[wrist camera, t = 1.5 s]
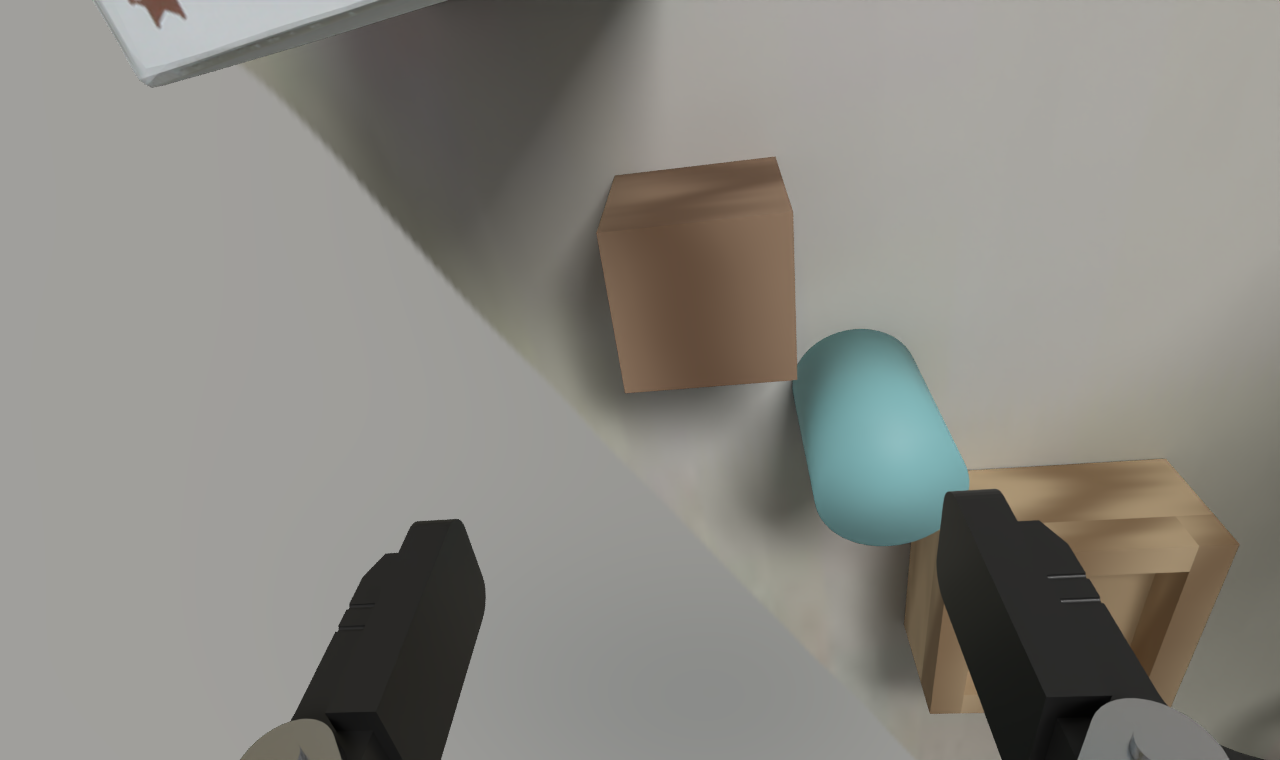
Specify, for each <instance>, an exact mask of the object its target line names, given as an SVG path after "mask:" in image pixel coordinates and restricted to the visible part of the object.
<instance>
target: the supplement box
mask: <svg viewBox="0 0 1280 760" xmlns="http://www.w3.org/2000/svg"><path fill="white" fill-rule="evenodd" d="M92 1H93V2H94V4H95V6H96V7H97V9H98V10H99V12H100V14H101V16H102V17H103V19H104V20H105V22H106V24H107V25H108V27H109V29H110V30H111V32H112V34H113V36H114V37H115V39H116V41H117V42H118V44H119V46H120V47H121V49H122V52H123V53H124V55H125V57H126V59H127V61H128V63H129V65H130V67H131V68H132V70H133V71H134V73H135V74H136V76H137V78H138V79H139V80H140V81H141V82H143V83H145V84H146V85H148V86H150V87H152V88H153V87H158V86H163V85H167V84H170V83H174V82H177V81H180V80H184V79H187V78H191V77H195V76H199V75H202V74H206V73H209V72H213V71H216V70H220V69H223V68H226V67H230V66H233V65H237V64H240V63H243V62H247V61H250V60H253V59H257V58H260V57H264V56H267V55H270V54H274V53H277V52H280V51H284V50H287V49H291V48H294V47H297V46H301V45H304V44H308V43H311V42H314V41H318V40H321V39H324V38H328V37H331V36H334V35H337V34H340V33H344V32H347V31H350V30H353V29H357V28H360V27H363V26H366V25H369V24H373V23H376V22H379V21H382V20H386V19H389V18H392V17H395V16H398V15H402V14H405V13H408V12H411V11H415V10H418V9H421V8H424V7H427V6H431V5H434V4H437V3H441V2H444V1H447V0H92Z"/></svg>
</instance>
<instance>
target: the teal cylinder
mask: <svg viewBox="0 0 1280 760" xmlns="http://www.w3.org/2000/svg"><path fill="white" fill-rule="evenodd" d="M792 388H793V396H794V401H795V406H796V411H797V416H798V421H799V426H800V431H801V436H802V441H803V446H804V451H805V456H806V461H807V466H808V471H809V476H810V481H811V486H812V491H813V496H814V501H815V505H816V509H817V512H818V514H819V516H820V518H821V519H822V520H823V522H824V523H825V524H826V525H827V526H828V527H829V528H830V529H831V530H832V531H833V532H835V533H836V534H838V535H839V536H841V537H843V538H845V539H848V540H850V541H853V542H856V543H859V544H865V545H871V546H894V545H901V544H906V543H910V542H914V541H917V540H919V539H922V538H925V537H927V536H929V535H931V534H933V533H935V532H936V531H938V530H939V529H940V525H941V517H942V509H943V501H944V496H945V494H946V493H947V492H949V491H964V490H969V474H968V471H967V468H966V465H965V463H964V461H963V459H962V457H961V455H960V453H959V451H958V449H957V447H956V445H955V443H954V441H953V439H952V437H951V434H950V432H949V430H948V428H947V426H946V424H945V422H944V420H943V418H942V416H941V414H940V412H939V410H938V408H937V406H936V404H935V402H934V400H933V398H932V396H931V394H930V392H929V389H928V387H927V385H926V383H925V381H924V379H923V377H922V375H921V373H920V371H919V369H918V367H917V365H916V363H915V361H914V359H913V357H912V355H911V353H910V352H909V350H908V349H907V348H906V346H904V345H903V344H902V343H901V342H900V341H899V340H897V339H896V338H894V337H892V336H890V335H888V334H886V333H883V332H880V331H875V330H869V329H853V330H846V331H842V332H839V333H836V334H833V335H830V336H828V337H826V338H824V339H822V340H821V341H819V342H818V343H816V344H815V345H814V346H813V347H811V348H810V349H809V350H808V351H807V352H806V353H805V354H804V356H803V357H802V358H801V360H800V361H799V363H798V365H797V380H793V383H792Z"/></svg>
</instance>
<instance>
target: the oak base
mask: <svg viewBox="0 0 1280 760" xmlns="http://www.w3.org/2000/svg"><path fill="white" fill-rule="evenodd" d="M968 474H969V490H981V489H998V490H1000V491H1001V493H1002V494H1003V495H1004V497H1005V499H1006V501H1007V502H1008V504H1009V506H1010V508H1011V510H1012V512H1013V513H1014V515H1015V517H1016V519H1017V521H1032V520H1040V521H1041V522H1042V523H1043V524H1044V525H1046V526H1047V527H1048V528H1049V529H1051V530H1052V531H1053V532H1054V533H1055V534H1057V535H1058V536H1059V537H1060V538H1062V539H1063V540H1064V541H1065V542H1066V543H1068V544H1069V546H1070V548H1071V549H1072V551H1073V553H1074V554H1075V556H1076V558H1077V559H1078V561H1079V562H1080V564H1081V566H1082V567H1083V569H1084V571H1085V572H1086V578H1087V579H1090V581H1091V582H1092V584H1093V586H1094V587H1095V589H1096V591H1097V592H1098V594H1099V596H1100V601H1101V603H1104V604H1105V606H1106V607H1107V609H1108V611H1109V612H1110V614H1111V615H1112V617H1113V619H1114V620H1115V622H1116V624H1117V625H1118V627H1119V629H1120V630H1121V632H1122V634H1123V635H1124V637H1125V639H1126V640H1127V642H1128V644H1129V645H1130V647H1131V649H1132V650H1133V652H1134V654H1135V655H1136V657H1137V659H1138V660H1139V662H1140V663H1141V665H1142V667H1143V668H1144V670H1145V672H1146V673H1147V675H1148V677H1149V678H1150V680H1151V682H1152V683H1153V685H1154V687H1155V688H1156V690H1157V692H1158V693H1159V695H1160V696H1161V698H1162V699H1163V700H1164V702H1165V703H1166V704H1167V705H1168V706H1169V707H1171V705H1172V703H1173V701H1174V698H1175V696H1176V694H1177V691H1178V689H1179V687H1180V684H1181V682H1182V679H1183V677H1184V675H1185V672H1186V670H1187V668H1188V665H1189V663H1190V661H1191V658H1192V656H1193V653H1194V651H1195V649H1196V646H1197V644H1198V642H1199V639H1200V637H1201V635H1202V632H1203V630H1204V627H1205V625H1206V623H1207V620H1208V618H1209V616H1210V613H1211V611H1212V609H1213V606H1214V604H1215V601H1216V599H1217V597H1218V594H1219V592H1220V590H1221V587H1222V585H1223V583H1224V580H1225V578H1226V575H1227V573H1228V571H1229V568H1230V566H1231V564H1232V561H1233V559H1234V556H1235V554H1236V552H1237V549H1238V547H1239V545H1240V544H1239V543H1238V542H1237V541H1236V540H1235V538H1234V537H1233V536H1232V535H1231V534H1230V533H1229V531H1228V530H1227V529H1226V528H1225V527H1224V526H1223V525H1222V523H1221V522H1220V521H1219V520H1218V519H1217V518H1216V516H1215V515H1214V514H1213V513H1212V512H1211V511H1210V510H1209V508H1208V507H1207V506H1206V505H1205V504H1204V503H1203V501H1202V500H1201V499H1200V498H1199V497H1198V496H1197V494H1196V493H1195V492H1194V491H1193V490H1192V489H1191V488H1190V486H1189V485H1188V484H1187V483H1186V482H1185V481H1184V479H1183V478H1182V477H1181V476H1180V475H1179V474H1178V472H1177V471H1176V470H1175V469H1174V468H1173V467H1172V466H1171V464H1170V463H1169V462H1168V461H1167V460H1166V459H1153V460H1136V461H1120V462H1103V463H1086V464H1069V465H1053V466H1036V467H1019V468H1003V469H986V470H969V471H968ZM939 533H940V529H939V530H938V531H936V532H935V533H933V534H931V535H929V536H927V537H925V538H922V539H919V540H917V541H914V542H911V549H910V561H909V573H908V584H907V596H906V607H905V619H904V626H905V630H906V633H907V636H908V640H909V643H910V647H911V650H912V654H913V657H914V661H915V664H916V667H917V671H918V674H919V678H920V681H921V685H922V688H923V691H924V695H925V698H926V702H927V705H928V709H929V712H930V714H943V713H984V710H983V707H982V705H981V702H980V699H979V697H978V694H977V691H976V689H975V686H974V683H973V680H972V678H971V675H970V672H969V670H968V667H967V664H966V662H965V659H964V656H963V653H962V651H961V648H960V645H959V643H958V640H957V637H956V635H955V632H954V629H953V626H952V624H951V621H950V618H949V616H948V613H947V610H946V608H945V605H944V602H943V599H942V596H941V593H940V589H939V584H938V578H937V568H936V559H937V550H938V542H939Z"/></svg>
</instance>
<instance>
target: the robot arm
mask: <svg viewBox="0 0 1280 760" xmlns="http://www.w3.org/2000/svg"><path fill="white" fill-rule="evenodd" d="M936 568H937V578H938V584H939V589H940V593H941V596H942V599H943V602H944V605H945V608H946V610H947V613H948V616H949V618H950V621H951V624H952V626H953V629H954V632H955V635H956V637H957V640H958V643H959V645H960V648H961V651H962V653H963V656H964V659H965V662H966V664H967V667H968V670H969V672H970V675H971V678H972V680H973V683H974V686H975V689H976V691H977V694H978V697H979V699H980V702H981V705H982V707H983V710H984V713H985V716H986V718H987V721H988V724H989V726H990V729H991V732H992V734H993V737H994V740H995V743H996V745H997V748H998V751H999V753H1000V756H1001V759H1002V760H1264V759H1260V758H1256V757H1252V756H1249V755H1246V754H1242V753H1239V752H1236V751H1234V750H1231V749H1229V748H1226V747H1224V746H1222V745H1220V744H1219V743H1218V742H1217V741H1216V739H1215V738H1214V737H1213V736H1212V735H1211V734H1210V733H1209V732H1208V731H1207V730H1206V729H1204V728H1203V727H1202V726H1201V725H1199V724H1198V723H1197V722H1196V721H1194V720H1193V719H1191V718H1189V717H1188V716H1186V715H1185V714H1183V713H1181V712H1179V711H1177V710H1175V709H1173V708H1171V707H1169V706H1168V705H1167V704H1166V703H1165V702H1164V700H1163V699H1162V698H1161V696H1160V695H1159V693H1158V692H1157V690H1156V688H1155V687H1154V685H1153V683H1152V682H1151V680H1150V678H1149V677H1148V675H1147V673H1146V672H1145V670H1144V668H1143V667H1142V665H1141V663H1140V662H1139V660H1138V659H1137V657H1136V655H1135V654H1134V652H1133V650H1132V649H1131V647H1130V645H1129V644H1128V642H1127V640H1126V639H1125V637H1124V635H1123V634H1122V632H1121V630H1120V629H1119V627H1118V625H1117V624H1116V622H1115V620H1114V619H1113V617H1112V615H1111V614H1110V612H1109V611H1108V609H1107V607H1106V606H1105V604H1104V603H1101V601H1100V596H1099V594H1098V592H1097V591H1096V589H1095V587H1094V586H1093V584H1092V582H1091V581H1090V579H1087V578H1086V572H1085V571H1084V569H1083V567H1082V566H1081V564H1080V562H1079V561H1078V559H1077V558H1076V556H1075V554H1074V553H1073V551H1072V549H1071V548H1070V546H1069V544H1068V543H1066V542H1065V541H1064V540H1063V539H1062V538H1060V537H1059V536H1058V535H1057V534H1055V533H1054V532H1053V531H1052V530H1051V529H1049V528H1048V527H1047V526H1046V525H1044V524H1043V523H1042V522H1041V521H1040V520H1032V521H1017V519H1016V517H1015V515H1014V513H1013V512H1012V510H1011V508H1010V506H1009V504H1008V502H1007V501H1006V499H1005V497H1004V495H1003V494H1002V493H1001V491H1000V490H998V489H981V490H964V491H949V492H947V493H946V494H945V496H944V501H943V509H942V517H941V525H940V533H939V542H938V550H937V559H936ZM485 598H486V597H485V584H484V580H483V576H482V574H481V571H480V568H479V565H478V563H477V560H476V557H475V554H474V552H473V549H472V546H471V543H470V540H469V538H468V535H467V532H466V529H465V527H464V524H463V523H462V522H461V521H460V520H459V519H450V520H434V521H417V522H415V523H413V525H412V526H411V527H410V529H409V531H408V533H407V535H406V538H405V540H404V542H403V544H402V546H401V549H400V550H399V553H390V554H385V555H384V556H383V557H382V558H381V559H380V560H379V561H378V562H377V563H376V564H375V565H374V566H373V567H372V568H371V569H370V570H369V571H368V572H367V573H366V574H365V575H364V577H363V578H362V580H361V582H360V584H359V586H358V588H357V590H356V592H355V594H354V596H353V598H352V600H351V602H350V608H349V609H348V610H346V612H345V614H344V616H343V618H342V620H341V622H340V624H339V630H338V632H335V634H334V636H333V638H332V640H331V642H330V644H329V646H328V648H327V650H326V652H325V654H324V656H323V658H322V660H321V662H320V664H319V666H318V668H317V670H316V672H315V674H314V676H313V678H312V680H311V682H310V684H309V686H308V688H307V690H306V692H305V694H304V696H303V698H302V700H301V702H300V704H299V706H298V708H297V710H296V712H295V714H294V716H293V718H292V719H291V721H290V722H287V723H285V724H282V725H280V726H278V727H276V728H274V729H272V730H271V731H269V732H268V733H266V734H265V735H264V736H262V737H261V738H260V739H258V740H257V741H256V742H255V743H254V744H253V745H252V746H251V747H250V748H249V749H248V750H247V752H246V753H245V754H244V755H243V756H242V758H241V759H240V760H441V757H442V754H443V751H444V747H445V744H446V740H447V737H448V734H449V730H450V727H451V724H452V720H453V717H454V713H455V710H456V707H457V703H458V700H459V697H460V693H461V690H462V686H463V683H464V679H465V676H466V673H467V669H468V666H469V663H470V659H471V656H472V653H473V649H474V646H475V643H476V639H477V635H478V632H479V629H480V626H481V622H482V619H483V615H484V610H485Z"/></svg>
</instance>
